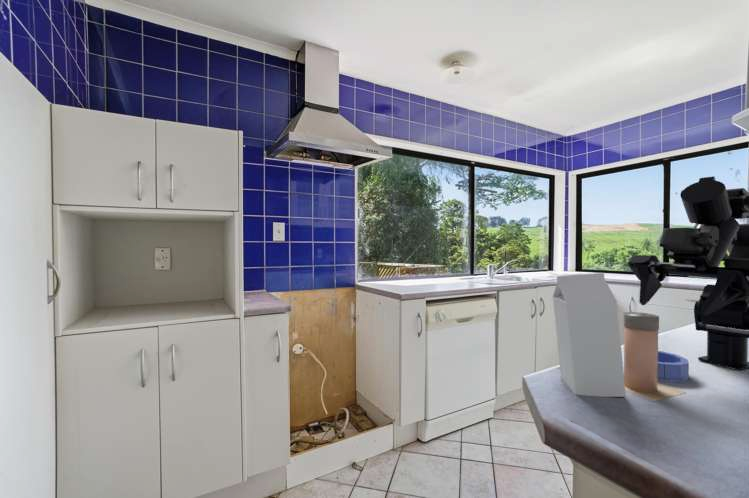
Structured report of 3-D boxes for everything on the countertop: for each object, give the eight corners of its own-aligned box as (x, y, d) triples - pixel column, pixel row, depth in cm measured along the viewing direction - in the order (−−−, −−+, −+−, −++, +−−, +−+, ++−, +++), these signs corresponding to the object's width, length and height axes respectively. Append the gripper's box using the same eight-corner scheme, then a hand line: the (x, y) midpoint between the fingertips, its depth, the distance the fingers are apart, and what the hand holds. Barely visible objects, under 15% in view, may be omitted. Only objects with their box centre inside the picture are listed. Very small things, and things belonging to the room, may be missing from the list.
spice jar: (634, 379, 59) (635, 311, 59) (665, 390, 55) (665, 316, 55) (616, 383, 58) (617, 313, 58) (646, 395, 54) (647, 318, 53)
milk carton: (626, 397, 52) (614, 274, 53) (575, 398, 54) (564, 278, 54) (605, 379, 59) (594, 271, 59) (560, 380, 61) (550, 274, 61)
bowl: (644, 363, 69) (644, 346, 69) (699, 380, 61) (699, 360, 61) (613, 369, 66) (614, 351, 66) (668, 388, 58) (668, 367, 57)
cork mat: (632, 378, 62) (632, 374, 62) (685, 396, 54) (685, 392, 54) (601, 384, 59) (601, 381, 59) (653, 405, 52) (653, 401, 51)
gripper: (632, 215, 69) (595, 273, 66) (763, 206, 52) (721, 285, 48) (658, 251, 72) (623, 309, 69) (789, 255, 55) (751, 332, 51)
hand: (670, 308), depth 59 cm, fingers open, 9 cm apart
